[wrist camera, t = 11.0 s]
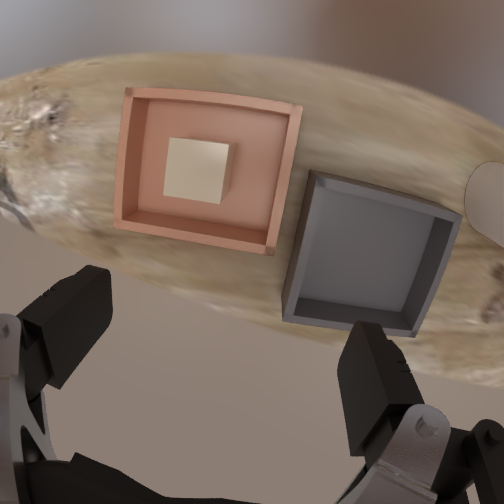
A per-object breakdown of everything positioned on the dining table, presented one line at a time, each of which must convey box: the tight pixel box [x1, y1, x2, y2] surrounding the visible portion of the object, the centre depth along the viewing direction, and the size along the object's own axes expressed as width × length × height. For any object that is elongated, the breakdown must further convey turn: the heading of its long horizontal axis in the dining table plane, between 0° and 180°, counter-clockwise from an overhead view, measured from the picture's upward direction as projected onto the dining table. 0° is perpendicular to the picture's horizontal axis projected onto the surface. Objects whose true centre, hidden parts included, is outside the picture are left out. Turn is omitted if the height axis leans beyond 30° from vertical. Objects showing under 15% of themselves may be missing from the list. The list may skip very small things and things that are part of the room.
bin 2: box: [281, 170, 463, 338], centre depth 27 cm, size 14×13×4 cm
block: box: [163, 137, 237, 204], centre depth 24 cm, size 4×4×5 cm
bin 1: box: [114, 88, 303, 256], centre depth 25 cm, size 14×12×4 cm
